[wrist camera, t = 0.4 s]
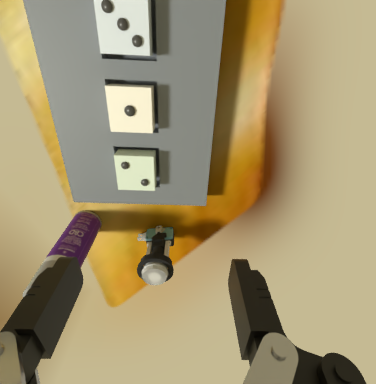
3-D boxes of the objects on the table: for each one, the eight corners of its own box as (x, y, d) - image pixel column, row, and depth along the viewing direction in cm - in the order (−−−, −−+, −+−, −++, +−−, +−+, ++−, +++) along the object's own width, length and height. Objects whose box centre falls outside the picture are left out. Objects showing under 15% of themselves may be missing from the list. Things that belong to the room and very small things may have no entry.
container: (96, 208, 39) (52, 284, 26) (105, 230, 41) (69, 309, 28) (70, 212, 39) (13, 288, 26) (80, 232, 42) (33, 312, 29)
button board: (27, -49, 23) (7, -63, 20) (225, -37, 24) (230, -48, 21) (81, 191, 37) (73, 202, 35) (204, 195, 38) (205, 205, 35)
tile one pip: (110, 83, 27) (104, 85, 25) (153, 85, 27) (150, 88, 25) (115, 126, 29) (110, 132, 27) (154, 127, 30) (152, 133, 27)
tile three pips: (100, -5, 23) (91, -12, 21) (150, -3, 23) (147, -9, 21) (107, 53, 25) (99, 53, 23) (152, 55, 26) (149, 55, 23)
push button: (141, 243, 43) (130, 290, 34) (136, 221, 40) (122, 266, 32) (176, 241, 43) (174, 287, 34) (173, 218, 40) (170, 262, 32)
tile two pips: (118, 148, 31) (113, 155, 29) (155, 150, 31) (153, 157, 29) (122, 181, 33) (117, 190, 31) (156, 182, 34) (154, 191, 31)
